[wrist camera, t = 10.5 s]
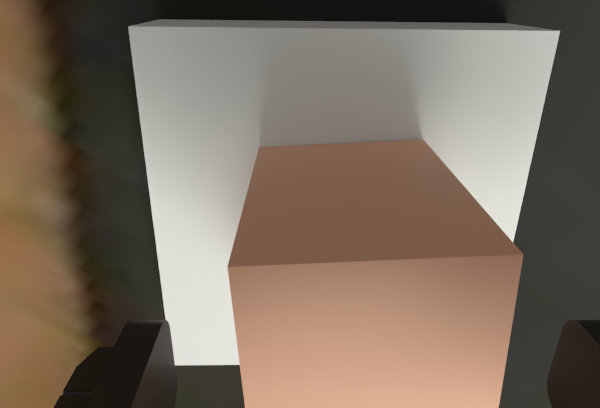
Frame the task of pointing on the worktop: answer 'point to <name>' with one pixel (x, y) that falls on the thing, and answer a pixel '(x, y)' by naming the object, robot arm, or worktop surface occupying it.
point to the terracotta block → (369, 282)
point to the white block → (316, 127)
